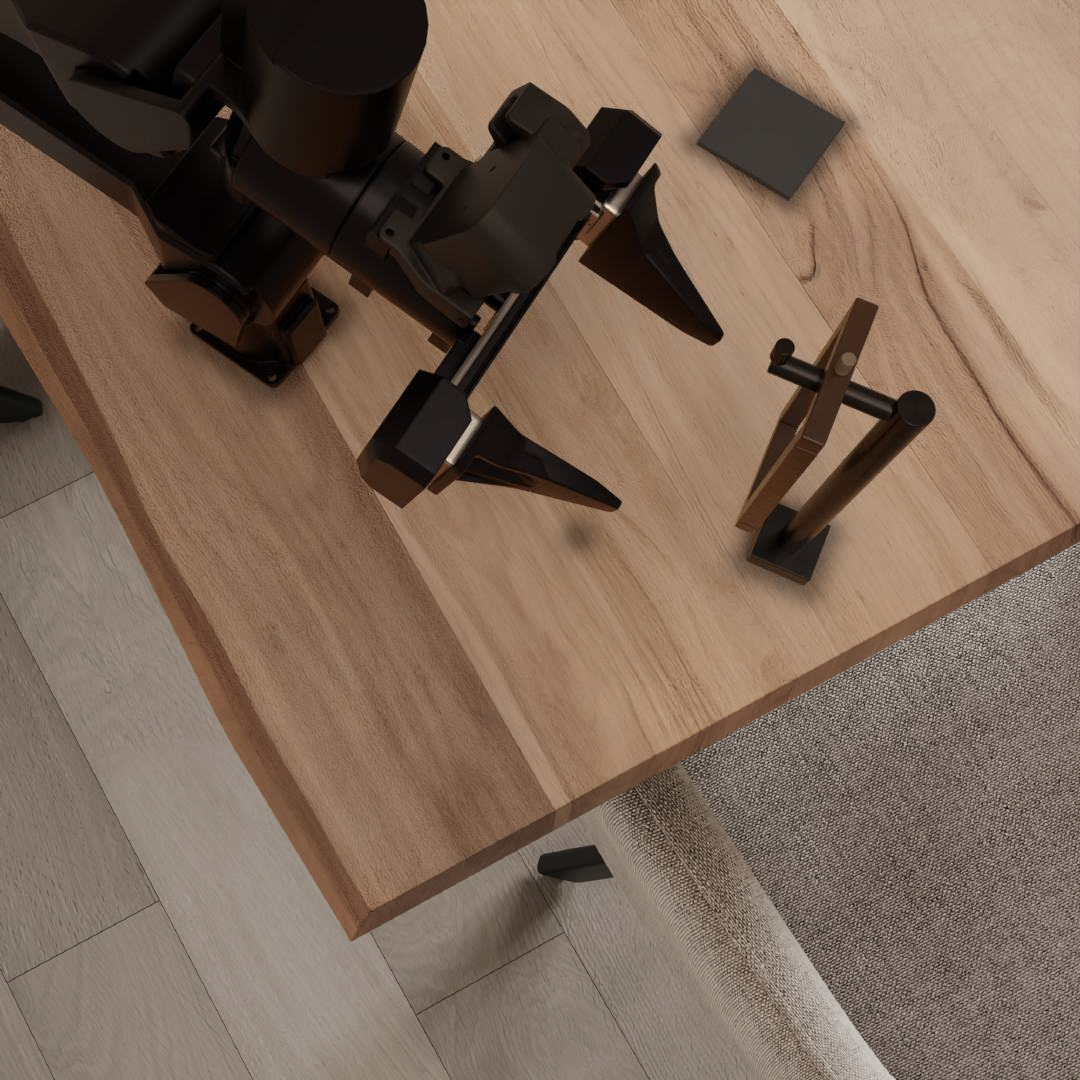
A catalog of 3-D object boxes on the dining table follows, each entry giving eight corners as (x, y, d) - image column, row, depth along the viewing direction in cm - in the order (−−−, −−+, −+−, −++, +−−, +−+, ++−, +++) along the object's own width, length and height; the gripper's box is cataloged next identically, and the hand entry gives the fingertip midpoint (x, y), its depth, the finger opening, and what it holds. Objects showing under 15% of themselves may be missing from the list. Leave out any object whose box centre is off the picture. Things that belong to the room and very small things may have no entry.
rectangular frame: (734, 527, 54) (808, 427, 42) (781, 411, 56) (865, 283, 44) (752, 535, 54) (832, 437, 42) (799, 419, 56) (888, 293, 44)
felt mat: (696, 144, 70) (697, 140, 70) (753, 71, 72) (754, 67, 72) (788, 201, 70) (790, 197, 69) (843, 125, 71) (845, 122, 71)
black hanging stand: (674, 530, 63) (760, 379, 43) (697, 476, 64) (791, 305, 44) (804, 586, 62) (950, 459, 43) (825, 531, 63) (977, 382, 44)
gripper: (244, 310, 35) (634, 583, 37) (543, -82, 40) (869, 185, 42) (233, 397, 45) (539, 606, 48) (471, 79, 50) (735, 284, 53)
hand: (669, 422), depth 48 cm, fingers open, 9 cm apart
